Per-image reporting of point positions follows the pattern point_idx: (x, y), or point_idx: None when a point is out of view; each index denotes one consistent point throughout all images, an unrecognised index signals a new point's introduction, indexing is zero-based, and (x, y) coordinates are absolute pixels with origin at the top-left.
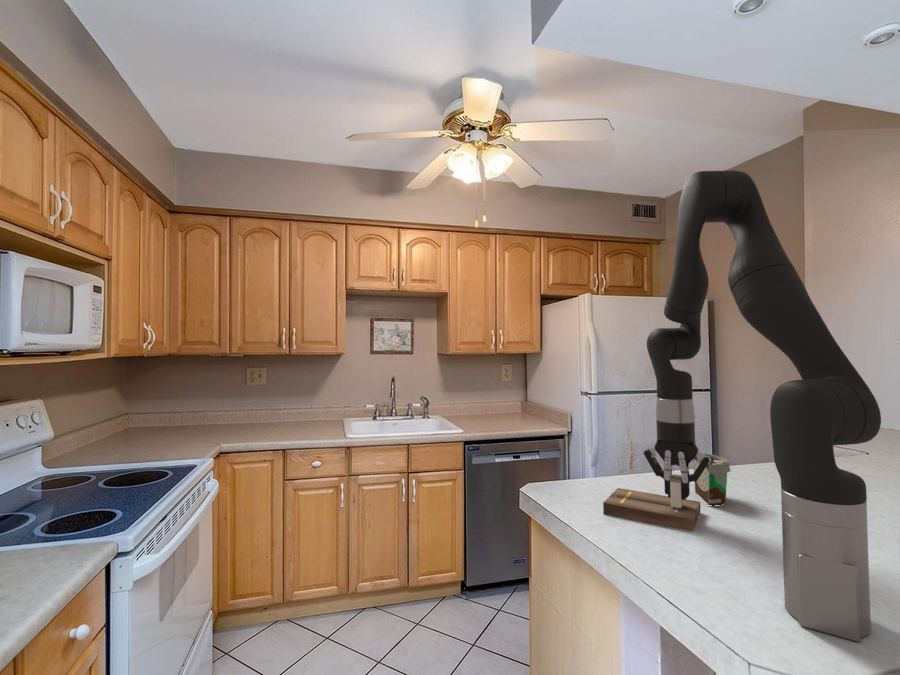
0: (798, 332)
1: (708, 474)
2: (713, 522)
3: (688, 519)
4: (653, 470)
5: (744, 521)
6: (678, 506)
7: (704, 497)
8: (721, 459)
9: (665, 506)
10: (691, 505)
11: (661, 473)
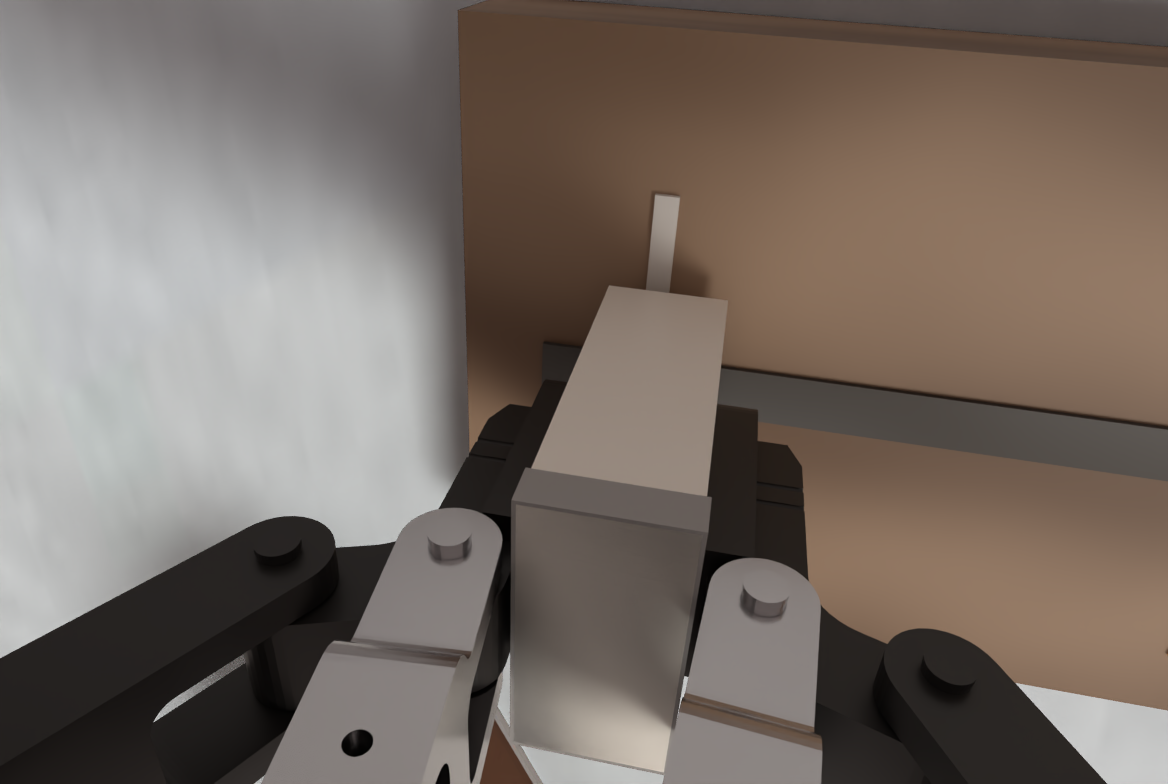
0: None
1: None
2: (383, 349)
3: (509, 12)
4: (1060, 739)
5: (204, 456)
6: (635, 297)
7: (494, 753)
8: None
9: (792, 339)
10: None
11: (869, 694)
